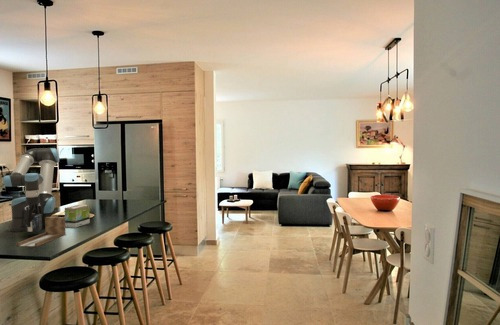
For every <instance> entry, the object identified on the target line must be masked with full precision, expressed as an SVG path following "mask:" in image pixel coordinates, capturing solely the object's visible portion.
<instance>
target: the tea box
mask: <svg viewBox="0 0 500 325" xmlns="http://www.w3.org/2000/svg"><path fill="white" fill-rule="evenodd" d="M64 217H65V228H73V229H74V228H75V229H77V228H79V227H81V226H85V225H88V224H90V222H91V221H90V220H91V218H90V217H91V216H90V205H89V204H75V205H72V206H67V207H64Z"/></svg>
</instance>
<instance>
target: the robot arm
mask: <svg viewBox="0 0 500 325" xmlns="http://www.w3.org/2000/svg"><path fill="white" fill-rule="evenodd" d="M18 158H19V160H18V162H17V164H16V166H15V167H14V169H13V171H12V172H11V173H10V174H9V175H5V176H4V177H3V180H2V182H3V185H4V186H5V187H11V188H12V187H25V192H24V193H25V196H22V197H21V196H20V197H17V198H13V199H12V200H11V201H10V202H11V206H10V207H11V221H10V224H9V225H10V226H9V227H8V228H9V231H10V232H13V233H14V232H24V231H25V232H26V222H27V227H28V231H27V232H31V233H32V232H34V231H33V229H32V222H31V219H32V214H42V218H43V217H44V214H50V213H53V212H54V210H55V207H56V205H57V204H56V197H54V194H52V190H53V180H54V169H55V168H54V167H56V166H57V164H58V163H60V155H59V151H58V149H57V148H55V147H47V148H46V147H42V148H41V147H38V148H37V147H35V148H30V149H27V151H24V152H23V153H22V154H21V155H20V156H19V157H18ZM34 164H39V166H40V173H38V172H30V173H28V171H29V169H30V167H31V166H32V165H34Z"/></svg>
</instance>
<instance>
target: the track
mask: <svg viewBox="0 0 500 325" xmlns="http://www.w3.org/2000/svg"><path fill="white" fill-rule="evenodd" d="M44 226H45V227H44V228H45V230H44V232H41V233H40V234H37V235H34V236H32V237H29V238H26V239H24V240H21V241H19V242H16V247H35V248H36V247H37V248H38V247H40V246H42V245H44V244H47V243H49V242H51V241H54V240H56V239H59V238H61V237H64V236H65V235H66V227H65V216H62V217H61V216H46V217H44Z"/></svg>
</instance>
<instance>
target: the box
mask: <svg viewBox="0 0 500 325" xmlns="http://www.w3.org/2000/svg"><path fill="white" fill-rule="evenodd" d="M31 222H32V229H33V231H32V232H40V231H42V230H43V217H42V214H32V219H31ZM25 232H28V227H27V222H26V230H25Z"/></svg>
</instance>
